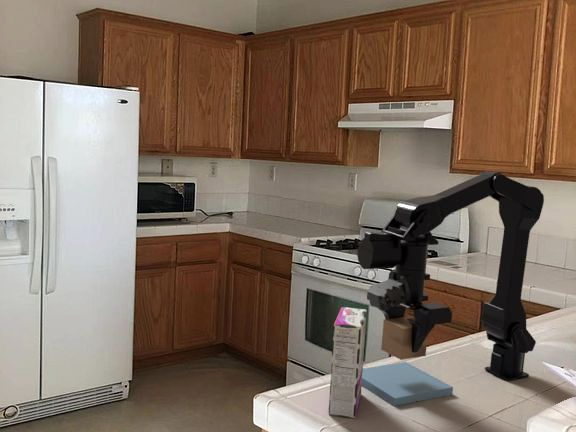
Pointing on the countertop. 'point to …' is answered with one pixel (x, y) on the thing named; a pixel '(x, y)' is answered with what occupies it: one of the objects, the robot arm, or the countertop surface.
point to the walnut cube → (400, 339)
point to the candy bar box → (347, 362)
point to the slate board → (403, 383)
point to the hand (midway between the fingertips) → (403, 346)
